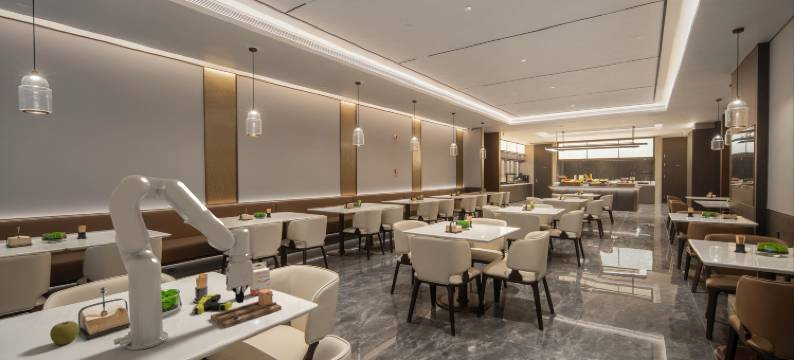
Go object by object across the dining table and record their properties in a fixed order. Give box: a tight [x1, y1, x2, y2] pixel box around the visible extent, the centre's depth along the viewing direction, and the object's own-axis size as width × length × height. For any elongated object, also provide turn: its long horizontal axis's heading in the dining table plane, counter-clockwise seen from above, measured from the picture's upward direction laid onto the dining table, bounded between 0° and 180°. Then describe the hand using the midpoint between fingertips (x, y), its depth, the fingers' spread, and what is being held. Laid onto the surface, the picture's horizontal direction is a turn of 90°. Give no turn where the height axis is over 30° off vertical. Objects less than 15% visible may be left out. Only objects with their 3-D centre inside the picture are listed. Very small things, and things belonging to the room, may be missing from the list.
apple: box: [49, 320, 79, 346], centre depth 131 cm, size 8×8×7 cm
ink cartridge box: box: [249, 261, 271, 297], centre depth 180 cm, size 9×5×15 cm, turn 130°
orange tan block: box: [257, 289, 274, 306], centre depth 158 cm, size 4×9×6 cm, turn 47°
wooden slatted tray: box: [210, 300, 282, 329], centre depth 153 cm, size 24×14×4 cm, turn 137°
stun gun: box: [194, 293, 233, 315], centre depth 165 cm, size 3×19×15 cm
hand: (239, 302), depth 151 cm, fingers closed
